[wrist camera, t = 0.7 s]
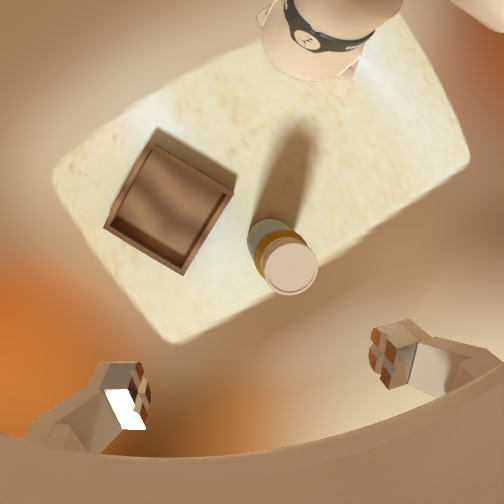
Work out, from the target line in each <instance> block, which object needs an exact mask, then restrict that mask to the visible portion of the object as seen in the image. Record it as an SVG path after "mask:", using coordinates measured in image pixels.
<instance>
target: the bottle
mask: <svg viewBox="0 0 504 504" xmlns="http://www.w3.org/2000/svg"><path fill="white" fill-rule="evenodd" d="M247 244H248V249H249V251H250V253H251V256H252V258H253V261H254V263H255V265H256V268H257V270H258V272H259V273H260V275H261V276H262V277H263V278H264V279H265V280H266V282H267V284H268V285H269V286H270V287H271V288H272V289H273V290H274V291H276V292H277V293H280V294H283V295H295V294H299V293H301V292H303V291H305V290H306V289H307V288H309V286H310V285H311V284H312V283H313V281H314V280H315V278H316V275H317V271H318V263H317V259H316V256H315V254H314V253H313V251H312V250H311V249H310V248H309V247H308V246H307V244H306V242H305V241H304V240H303V238H302V237H301V236H300V235H299V234H297V233H296V232H295V231H293V230H292V229H291V228H290V227H288V226H287V225H286V224H284V223H283V222H281V221H279V220H277V219H272V218H268V219H263V220H261V221H259V222H257V223H256V224H255V225H254V226H253V227H252V228H251V230H250V231H249V234H248V238H247Z"/></svg>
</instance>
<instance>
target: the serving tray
mask: <svg viewBox="0 0 504 504" xmlns="http://www.w3.org/2000/svg"><path fill="white" fill-rule="evenodd" d="M233 195H234V192H233V191H231V190H229V189H228V188H226V187H225V186H223V185H221V184H220V183H218V182H216V181H215V180H213V179H212V178H210V177H208V176H207V175H205V174H203V173H202V172H200V171H199V170H197V169H195V168H194V167H192V166H190V165H189V164H187V163H185V162H184V161H182V160H180V159H179V158H177V157H175V156H174V155H172V154H170V153H168V152H167V151H165V150H163V149H162V148H160V147H158V146H156V145H155V144H153V143H151V142H149V143H148V145H147V147H146V148H145V150H144V152H143V153H142V155H141V157H140V158H139V160H138V162H137V164H136V165H135V167H134V169H133V171H132V172H131V174H130V176H129V178H128V180H127V181H126V183H125V185H124V187H123V189H122V191H121V193H120V194H119V196H118V198H117V200H116V202H115V204H114V206H113V208H112V210H111V212H110V214H109V216H108V218H107V220H106V222H105V225H104V227H103V228H104V229H106V230H107V231H109V232H111V233H112V234H114V235H115V236H117V237H119V238H120V239H122V240H123V241H125V242H127V243H128V244H130V245H132V246H133V247H135V248H136V249H138V250H140V251H141V252H143V253H145V254H146V255H148V256H150V257H151V258H153V259H155V260H156V261H158V262H160V263H162V264H163V265H165V266H167V267H168V268H170V269H172V270H174V271H175V272H177V273H179V274H180V275H182V276H184V274H185V272H186V270H187V269H188V267H189V265H190V264H191V262H192V260H193V259H194V257H195V256H196V254H197V252H198V251H199V249H200V247H201V246H202V244H203V242H204V241H205V239H206V238H207V236H208V234H209V233H210V231H211V229H212V228H213V226H214V225H215V223H216V221H217V220H218V218H219V217H220V215H221V214H222V212H223V210H224V209H225V207H226V206H227V204H228V203H229V201H230V199H231V198H232V196H233Z"/></svg>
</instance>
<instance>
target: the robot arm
mask: <svg viewBox="0 0 504 504" xmlns="http://www.w3.org/2000/svg"><path fill="white" fill-rule="evenodd" d="M449 1H450V2H452V3H453V4H455V5H456V6H458V7H459V8H461V9H462V10H463V11H465V12H466V13H468V14H469V15H471V16H472V17H473V18H475V19H476V20H478V21H479V22H481V23H482V24H483V25H485V26H486V27H488V28H489V29H491V30H493V31H496V32H502V33H504V0H449ZM402 3H403V0H274V2H273V4H271V5H269V6H268V7H267V8H265V9H263V10H262V11H260V12H259V13H258V15H257V16H256V21H257V23H258V25H259V27H260V29H261V31H262V44H263V48H264V51H265V53H266V55H267V57H268V58H269V59H270V61H271V62H272V63H273V64H274V65H275V66H276V67H277V68H278V69H280V70H281V71H282V72H284V73H286V74H287V75H289V76H292V77H294V78H297V79H300V80H305V81H321V80H325V79H329V78H339V79H350V78H351V77H352V76H353V74H354V72H355V69H356V66H357V63H358V61H359V58H360V57H361V56H362V55H361V53H362V50H363V47H364V44H365V42H367V41H368V40H369V38H370V37H371V36H372V35H373V33H374V32H375V29H377V28H378V27H379V26H381V25H382V24H383V23H385V22H386V21H387V20H389V19H390V18H392V17H393V16H394V15H396V14H397V13H398V11H399V10H400V8H401V6H402ZM349 67H350V69H349ZM371 340H372V341H373V344H372V346H371V347H370V348H369V363H370V365H371V368H372V369H373V370H374V372H376V373H378V374H381V377H380V380H381V381H382V382H383V384H384V385H385V386H386V388H387V389H388V390H390V389H393V388H396V387H399V386H402V385H405V384H408V385H410V386H412V387H414V388H416V389H418V390H420V391H422V392H424V393H426V394H428V395H430V396H432V397H435V398H437V399H435V400H433V401H431V402H428V403H426V404H424V405H422V406H419V407H417V408H415V409H412V410H410V411H408V412H405V413H403V414H400V415H397V416H395V417H392V418H390V419H387V420H384V421H381V422H378V423H375V424H373V425H370V426H366V427H363V428H360V429H357V430H354V431H350V432H347V433H343V434H340V435H336V436H332V437H328V438H325V439H320V440H317V441H312V442H308V443H303V444H298V445H293V446H288V447H283V448H278V449H271V450H265V451H259V452H251V453H243V454H234V455H225V456H212V457H193V458H145V457H128V456H115V455H105V454H100V453H101V452H102V451H103V450H104V448H106V447H107V446H108V445H109V444H110V442H111V441H112V440H113V439H114V438H115V437H116V436H117V435H118V434H119V433H120V432H121V431H122V429H145V428H146V423H147V418H148V414H147V412H146V409H147V408H149V407H150V404H151V391H150V386H149V383H148V381H147V380H146V379H144V378H143V374H144V370H143V367H142V364H141V363H140V362H138V361H137V362H136V361H135V362H100V363H98V365H97V367H96V369H95V371H94V373H93V374H92V377H91V378H90V380H89V382H88V384H87V386H86V388H85V389H80V390H79V391H77V392H76V393H74V394H73V395H71V396H70V397H68V398H66V399H65V400H63V401H62V402H60V403H58V404H57V405H56V406H54V407H52V408H51V409H49V410H47V411H46V412H44V413H43V414H41V415H39V416H38V417H36V418H35V419H34V421H33V423H32V425H31V426H30V428H29V430H28V432H27V434H26V435H25V438H24V439H21V438H18V437H14V436H11V435H8V434H4V433H1V432H0V504H504V362H502V361H501V360H500V359H498V358H497V357H496V356H495V355H493V354H492V353H491V352H490V351H488V350H487V349H485V348H481V347H476V346H472V345H468V344H464V343H459V342H455V341H451V340H447V339H443V338H439V337H431V336H429V335H428V334H427V333H426V332H425V331H424V330H422V329H421V328H420V327H418V326H417V325H416V324H415V323H414V322H413V321H411V320H410V319H404V320H401V321H398V322H396V323H392V324H389V325H385V326H381V327H377V328H373V330H372V332H371Z"/></svg>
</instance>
